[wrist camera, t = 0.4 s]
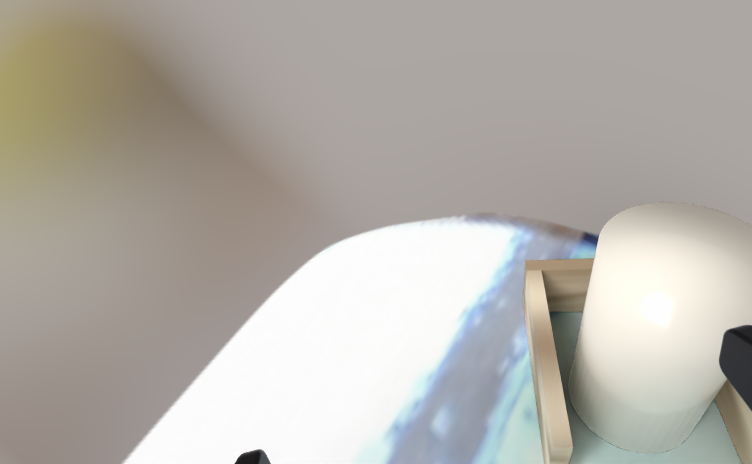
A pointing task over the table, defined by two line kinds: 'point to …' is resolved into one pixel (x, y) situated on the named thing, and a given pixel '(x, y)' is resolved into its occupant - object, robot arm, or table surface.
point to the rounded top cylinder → (659, 322)
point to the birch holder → (558, 294)
